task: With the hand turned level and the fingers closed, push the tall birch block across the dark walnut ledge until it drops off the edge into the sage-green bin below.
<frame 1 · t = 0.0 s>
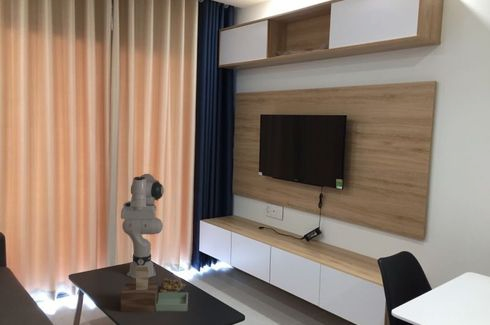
hand: (137, 226, 252), 39 cm above the table, tool pointing down, fingers open, 8 cm apart
walnut ledge: (139, 305, 234), on the table
mineral formation: (172, 292, 254), on the table
birch block: (142, 288, 233), point 10 cm above the table, touching walnut ledge
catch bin: (172, 305, 236), on the table
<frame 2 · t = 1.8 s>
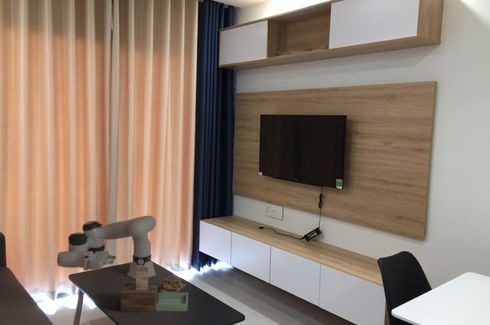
hand: (114, 259, 230), 26 cm above the table, tool horizontal, fingers open, 5 cm apart
nothing on the table moved.
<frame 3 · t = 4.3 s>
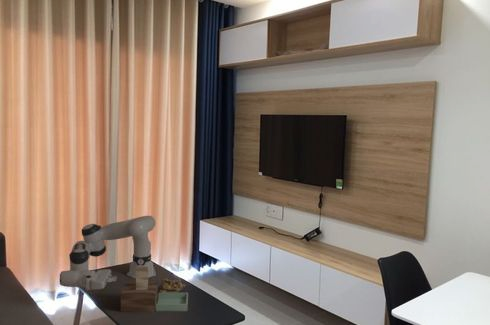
hand: (116, 278, 230), 15 cm above the table, tool horizontal, fingers closed
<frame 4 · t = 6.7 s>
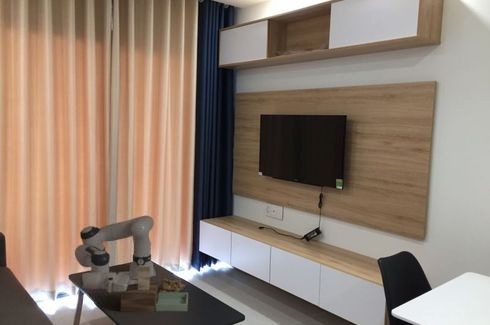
hand: (137, 281, 230), 15 cm above the table, tool horizontal, fingers closed
birch block: (143, 288, 233), point 10 cm above the table, touching gripper
everything else where it was.
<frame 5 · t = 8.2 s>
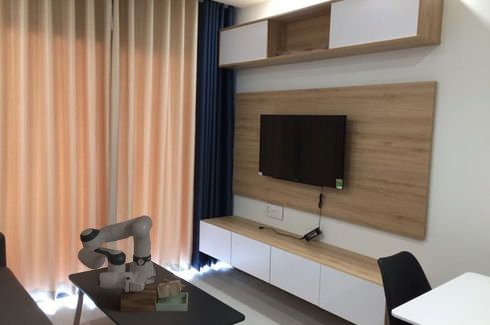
hand: (154, 280, 231), 15 cm above the table, tool horizontal, fingers closed
birch block: (158, 291, 235), point 8 cm above the table, tilted 79°
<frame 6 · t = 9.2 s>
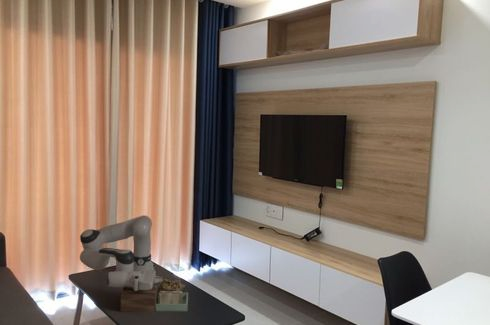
hand: (162, 279, 233), 15 cm above the table, tool horizontal, fingers closed
birch block: (160, 298, 236), point 4 cm above the table, tilted 90°, touching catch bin
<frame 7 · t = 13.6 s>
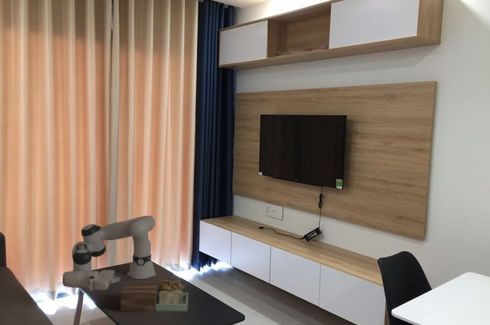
hand: (119, 279, 230), 15 cm above the table, tool horizontal, fingers closed
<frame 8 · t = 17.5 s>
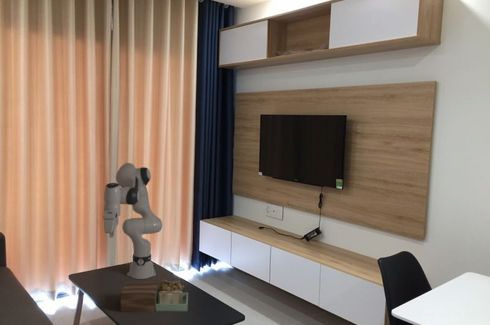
hand: (111, 236, 234), 37 cm above the table, tool pointing down, fingers closed
at the end: birch block inside the target area (7.1 cm from its centre), point 3.6 cm above the table; birch block touching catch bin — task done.
